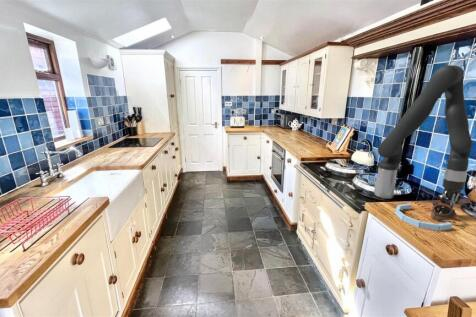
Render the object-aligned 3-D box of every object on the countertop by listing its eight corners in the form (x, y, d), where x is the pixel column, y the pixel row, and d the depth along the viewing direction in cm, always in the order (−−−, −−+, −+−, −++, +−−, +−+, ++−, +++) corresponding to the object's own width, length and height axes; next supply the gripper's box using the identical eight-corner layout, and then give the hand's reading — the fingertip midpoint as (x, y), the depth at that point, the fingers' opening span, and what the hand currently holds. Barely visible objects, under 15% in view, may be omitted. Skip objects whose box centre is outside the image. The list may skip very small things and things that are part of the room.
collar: (407, 208, 119) (408, 203, 118) (451, 229, 98) (452, 223, 98) (384, 211, 116) (385, 206, 115) (424, 233, 96) (425, 227, 95)
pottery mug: (463, 224, 103) (461, 212, 99) (440, 231, 105) (438, 219, 102) (443, 206, 113) (441, 195, 110) (422, 213, 116) (420, 202, 112)
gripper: (456, 174, 111) (450, 207, 115) (434, 177, 108) (429, 210, 112) (475, 179, 104) (467, 213, 108) (452, 182, 101) (445, 217, 105)
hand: (447, 212), depth 110 cm, fingers closed
